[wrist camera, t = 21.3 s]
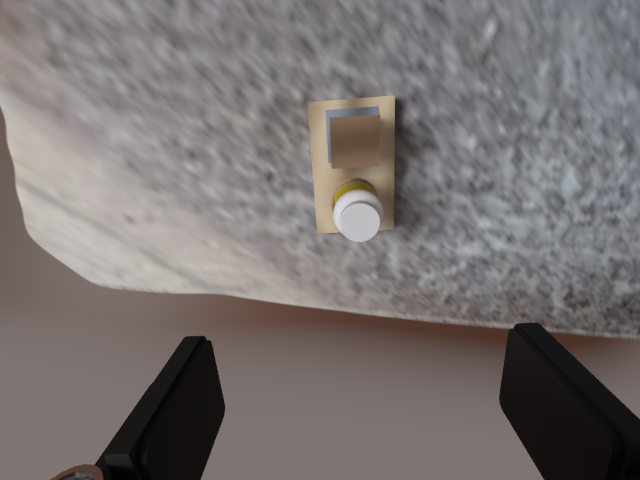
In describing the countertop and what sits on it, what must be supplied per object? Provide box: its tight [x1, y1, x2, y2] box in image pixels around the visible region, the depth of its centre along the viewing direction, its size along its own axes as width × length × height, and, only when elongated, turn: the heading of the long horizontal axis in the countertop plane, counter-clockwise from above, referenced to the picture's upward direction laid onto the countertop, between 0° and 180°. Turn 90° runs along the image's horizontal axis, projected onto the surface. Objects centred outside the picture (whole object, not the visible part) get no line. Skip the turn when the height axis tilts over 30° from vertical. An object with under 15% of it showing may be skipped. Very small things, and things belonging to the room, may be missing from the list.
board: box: [308, 96, 395, 234], centre depth 41 cm, size 10×16×2 cm, turn 4°
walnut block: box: [329, 115, 380, 169], centre depth 36 cm, size 5×5×6 cm
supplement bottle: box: [333, 180, 384, 242], centre depth 36 cm, size 5×5×10 cm
